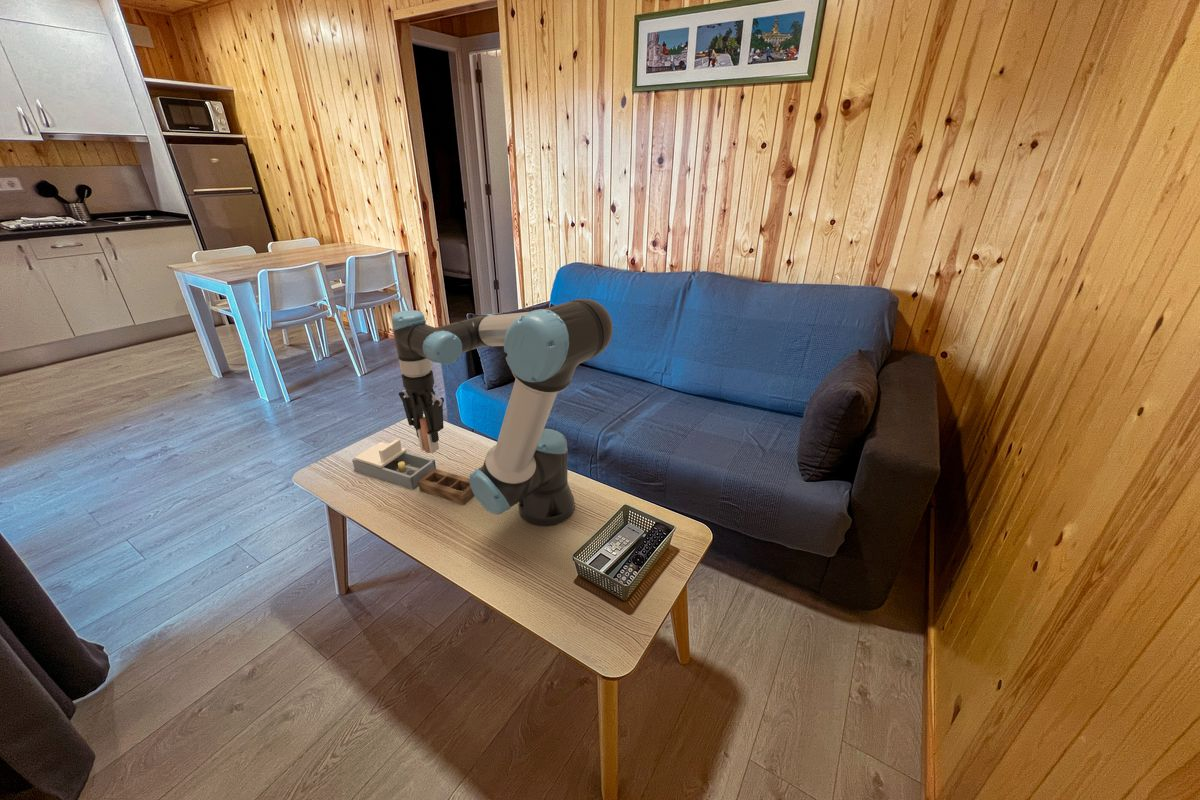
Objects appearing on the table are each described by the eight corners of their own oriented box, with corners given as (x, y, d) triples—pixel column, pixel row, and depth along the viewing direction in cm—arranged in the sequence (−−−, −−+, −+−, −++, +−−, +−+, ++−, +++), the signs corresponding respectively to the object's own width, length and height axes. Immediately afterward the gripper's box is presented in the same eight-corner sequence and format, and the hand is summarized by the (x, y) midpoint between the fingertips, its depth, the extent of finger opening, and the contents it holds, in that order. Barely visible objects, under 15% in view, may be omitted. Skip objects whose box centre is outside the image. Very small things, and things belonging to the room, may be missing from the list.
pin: (436, 449, 129) (431, 417, 125) (430, 453, 127) (425, 422, 123) (429, 447, 130) (424, 415, 126) (422, 451, 128) (417, 420, 124)
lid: (406, 451, 143) (404, 437, 140) (381, 468, 134) (378, 454, 132) (381, 443, 146) (378, 430, 144) (354, 459, 138) (351, 446, 136)
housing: (436, 471, 141) (434, 460, 139) (412, 489, 132) (410, 478, 131) (380, 454, 148) (378, 443, 147) (354, 470, 140) (351, 459, 138)
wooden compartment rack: (479, 490, 133) (478, 481, 132) (463, 504, 127) (462, 495, 126) (436, 476, 138) (435, 468, 137) (419, 490, 132) (417, 481, 131)
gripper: (451, 371, 119) (461, 449, 129) (404, 361, 124) (417, 437, 134) (431, 382, 112) (443, 463, 123) (382, 371, 118) (398, 449, 128)
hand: (429, 449), depth 129 cm, fingers closed on pin, 2 cm apart
